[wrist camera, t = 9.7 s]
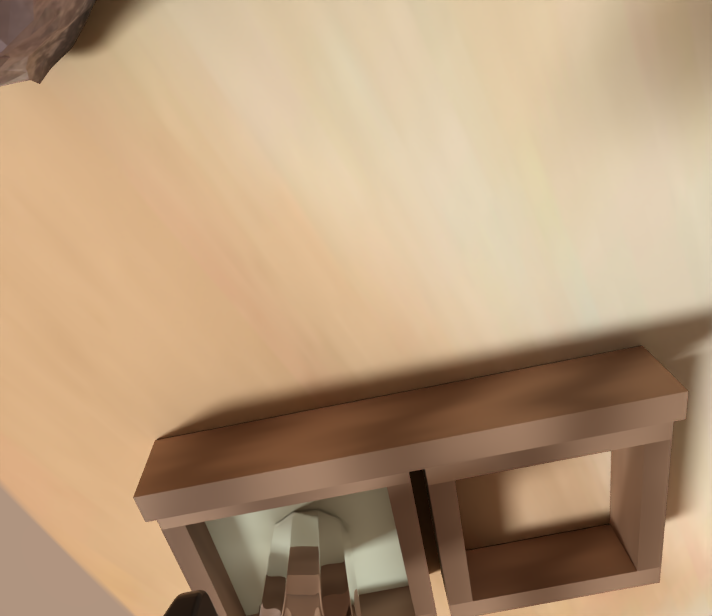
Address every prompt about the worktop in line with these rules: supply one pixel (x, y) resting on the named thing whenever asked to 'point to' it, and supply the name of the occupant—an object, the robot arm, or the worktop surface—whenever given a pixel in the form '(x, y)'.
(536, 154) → the worktop surface
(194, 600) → the robot arm
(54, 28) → the geode
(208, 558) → the divided wooden tray
